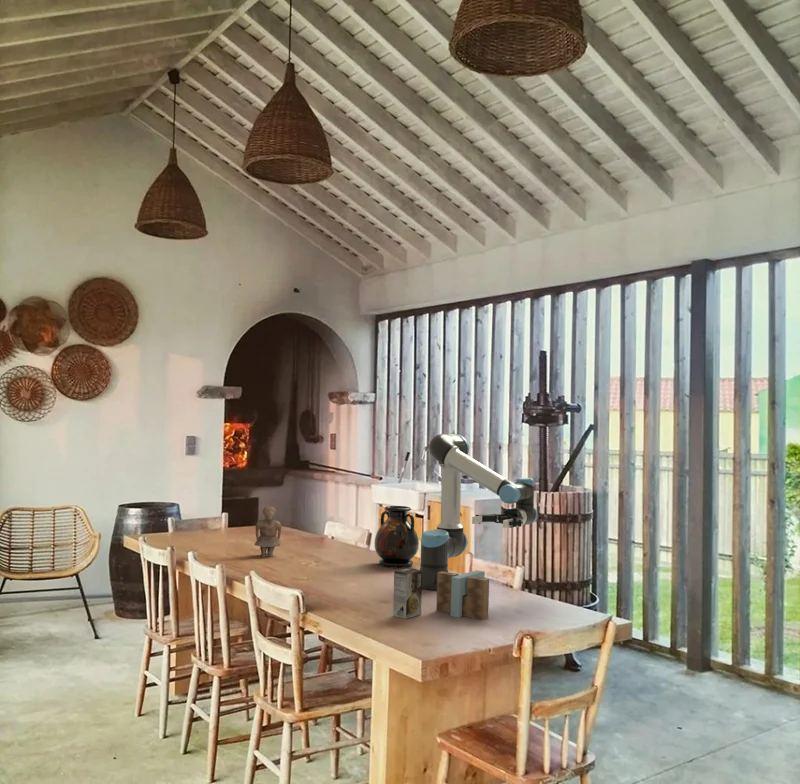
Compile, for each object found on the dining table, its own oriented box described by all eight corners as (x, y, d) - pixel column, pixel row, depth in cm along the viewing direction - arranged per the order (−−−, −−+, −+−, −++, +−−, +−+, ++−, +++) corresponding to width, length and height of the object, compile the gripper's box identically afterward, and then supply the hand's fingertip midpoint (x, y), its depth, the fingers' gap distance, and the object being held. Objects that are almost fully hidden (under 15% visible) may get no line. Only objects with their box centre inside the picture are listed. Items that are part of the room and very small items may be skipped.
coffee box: (407, 611, 292) (409, 567, 292) (421, 614, 288) (423, 570, 288) (392, 615, 285) (393, 570, 285) (406, 619, 281) (407, 573, 281)
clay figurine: (255, 558, 389) (257, 507, 390) (252, 554, 399) (254, 504, 399) (281, 557, 393) (283, 507, 394) (278, 554, 403) (279, 504, 404)
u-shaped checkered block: (436, 610, 295) (437, 572, 295) (441, 608, 298) (442, 571, 298) (483, 619, 283) (484, 580, 283) (488, 618, 286) (489, 579, 286)
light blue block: (450, 615, 287) (451, 577, 288) (475, 607, 302) (476, 570, 302) (458, 617, 285) (460, 578, 286) (483, 608, 300) (484, 571, 300)
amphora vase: (426, 565, 386) (428, 507, 387) (401, 571, 368) (403, 510, 369) (390, 559, 398) (392, 503, 399) (364, 565, 380) (366, 506, 381)
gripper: (541, 530, 316) (517, 535, 298) (486, 523, 330) (460, 528, 313) (542, 511, 316) (517, 515, 299) (487, 505, 330) (460, 509, 313)
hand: (488, 522), depth 306 cm, fingers open, 13 cm apart
